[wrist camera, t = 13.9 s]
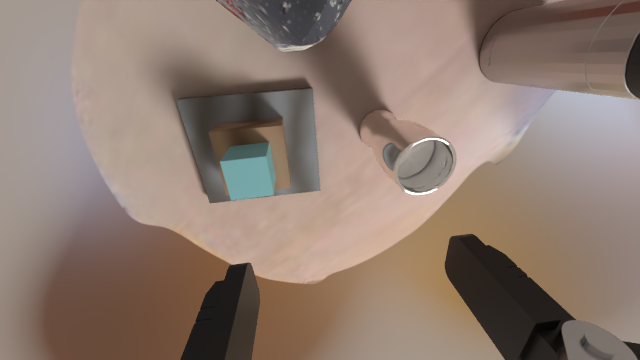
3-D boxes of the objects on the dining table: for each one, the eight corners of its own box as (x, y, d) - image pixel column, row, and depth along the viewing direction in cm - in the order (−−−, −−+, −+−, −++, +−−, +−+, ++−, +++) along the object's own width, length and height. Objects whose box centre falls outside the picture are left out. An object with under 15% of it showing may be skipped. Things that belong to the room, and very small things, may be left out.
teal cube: (269, 142, 31) (266, 156, 26) (275, 176, 33) (273, 195, 29) (229, 146, 30) (219, 161, 26) (239, 181, 33) (231, 200, 28)
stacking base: (311, 87, 34) (315, 92, 29) (319, 186, 41) (323, 205, 36) (180, 98, 33) (159, 106, 28) (212, 198, 40) (200, 219, 35)
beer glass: (348, 136, 38) (379, 179, 25) (374, 97, 36) (424, 120, 22) (381, 157, 40) (426, 206, 27) (408, 121, 38) (472, 155, 25)
